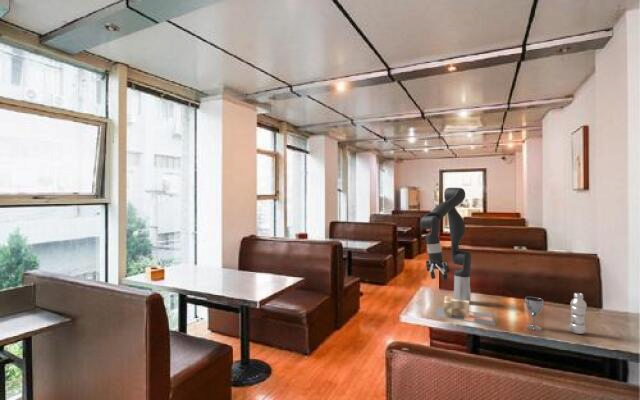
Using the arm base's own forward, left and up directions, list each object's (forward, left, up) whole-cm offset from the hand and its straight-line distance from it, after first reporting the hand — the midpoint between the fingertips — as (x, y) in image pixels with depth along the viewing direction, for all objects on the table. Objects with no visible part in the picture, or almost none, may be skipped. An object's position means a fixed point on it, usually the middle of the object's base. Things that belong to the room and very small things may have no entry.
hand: (439, 279), depth 187 cm
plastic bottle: (-47, +47, -21) cm, 69 cm away
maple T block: (-10, +4, -20) cm, 23 cm away
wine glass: (-34, +33, -21) cm, 52 cm away
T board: (-13, +7, -21) cm, 25 cm away
